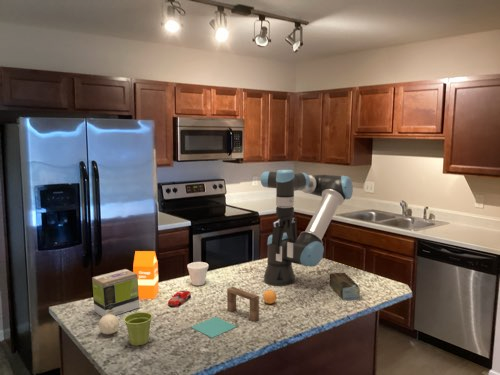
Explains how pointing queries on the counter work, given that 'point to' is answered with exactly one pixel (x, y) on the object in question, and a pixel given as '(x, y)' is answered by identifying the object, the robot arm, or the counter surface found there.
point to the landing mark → (213, 327)
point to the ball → (269, 296)
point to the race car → (179, 298)
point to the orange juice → (146, 273)
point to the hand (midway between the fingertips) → (284, 259)
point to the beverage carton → (344, 286)
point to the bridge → (252, 297)
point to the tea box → (115, 292)
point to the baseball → (108, 324)
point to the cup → (197, 272)
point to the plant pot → (138, 327)
